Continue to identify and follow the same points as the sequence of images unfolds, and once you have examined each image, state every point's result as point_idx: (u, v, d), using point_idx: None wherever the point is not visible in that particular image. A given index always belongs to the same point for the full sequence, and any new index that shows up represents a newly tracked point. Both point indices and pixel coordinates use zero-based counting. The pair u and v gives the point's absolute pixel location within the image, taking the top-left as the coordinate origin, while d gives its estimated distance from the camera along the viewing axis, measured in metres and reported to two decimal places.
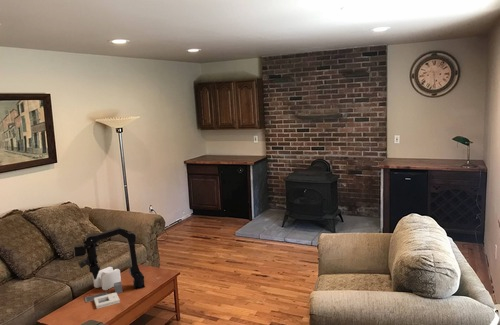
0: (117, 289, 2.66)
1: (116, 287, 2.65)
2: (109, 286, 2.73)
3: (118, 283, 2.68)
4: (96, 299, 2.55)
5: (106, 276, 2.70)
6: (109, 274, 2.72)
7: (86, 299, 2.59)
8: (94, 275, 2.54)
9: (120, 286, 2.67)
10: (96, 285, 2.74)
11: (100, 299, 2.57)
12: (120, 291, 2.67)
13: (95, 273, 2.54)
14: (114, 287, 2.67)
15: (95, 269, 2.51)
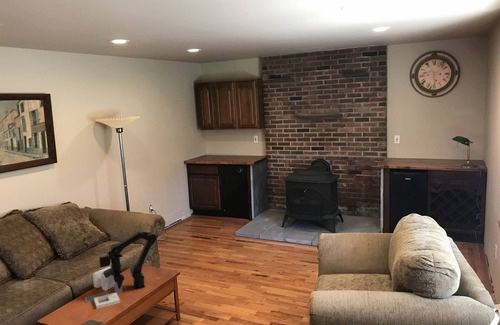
0: (117, 289, 2.66)
1: (116, 287, 2.65)
2: (109, 286, 2.73)
3: None
4: (96, 299, 2.55)
5: None
6: None
7: (86, 299, 2.59)
8: (118, 285, 2.63)
9: None
10: (96, 285, 2.74)
11: (100, 299, 2.57)
12: (120, 291, 2.67)
13: (119, 283, 2.63)
14: (114, 287, 2.67)
15: (120, 279, 2.59)
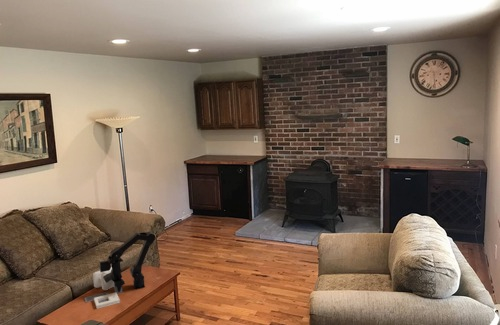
0: None
1: (116, 287, 2.65)
2: (109, 286, 2.73)
3: None
4: (96, 299, 2.55)
5: None
6: None
7: (86, 299, 2.59)
8: (118, 288, 2.65)
9: None
10: (96, 285, 2.74)
11: (100, 299, 2.57)
12: (120, 291, 2.67)
13: (119, 286, 2.65)
14: (114, 287, 2.67)
15: (120, 284, 2.59)
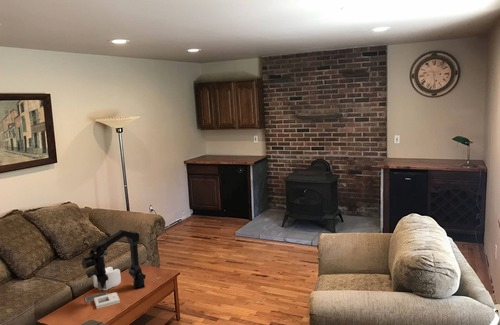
0: (100, 285, 2.51)
1: (99, 283, 2.50)
2: (109, 286, 2.73)
3: None
4: (96, 299, 2.55)
5: None
6: (109, 274, 2.72)
7: (86, 299, 2.59)
8: (101, 284, 2.50)
9: None
10: (96, 285, 2.74)
11: (100, 299, 2.57)
12: (104, 287, 2.52)
13: (103, 282, 2.50)
14: None
15: (103, 279, 2.44)
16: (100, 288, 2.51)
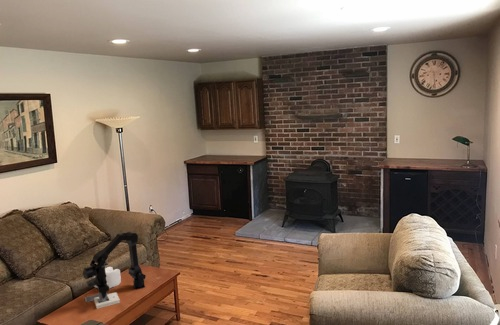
0: (101, 295, 2.52)
1: (100, 293, 2.51)
2: (109, 286, 2.73)
3: None
4: (96, 299, 2.55)
5: (106, 276, 2.70)
6: (109, 274, 2.72)
7: (86, 299, 2.59)
8: (103, 294, 2.51)
9: None
10: None
11: None
12: (105, 297, 2.53)
13: (104, 292, 2.51)
14: None
15: (104, 290, 2.45)
16: (101, 298, 2.52)
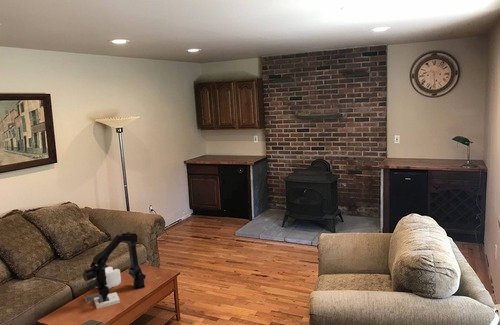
0: (102, 299, 2.52)
1: (101, 297, 2.52)
2: (109, 286, 2.73)
3: None
4: (96, 299, 2.55)
5: (106, 276, 2.70)
6: (109, 274, 2.72)
7: (86, 299, 2.59)
8: (103, 297, 2.49)
9: None
10: None
11: None
12: (105, 301, 2.53)
13: (104, 295, 2.49)
14: (99, 297, 2.53)
15: (104, 291, 2.45)
16: (101, 302, 2.52)
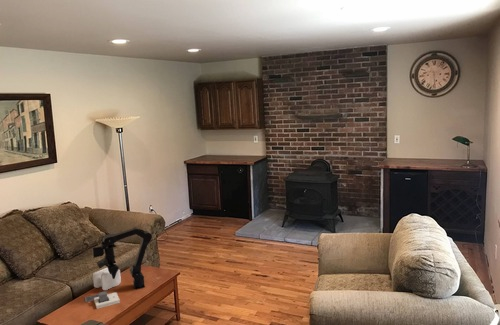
0: (102, 299, 2.52)
1: (101, 297, 2.52)
2: (109, 286, 2.73)
3: (103, 293, 2.54)
4: (96, 299, 2.55)
5: (106, 276, 2.70)
6: (109, 274, 2.72)
7: (86, 299, 2.59)
8: (113, 275, 2.60)
9: (105, 296, 2.53)
10: (96, 285, 2.74)
11: None
12: (105, 301, 2.53)
13: (114, 273, 2.60)
14: (99, 297, 2.53)
15: (114, 269, 2.57)
16: (101, 302, 2.52)
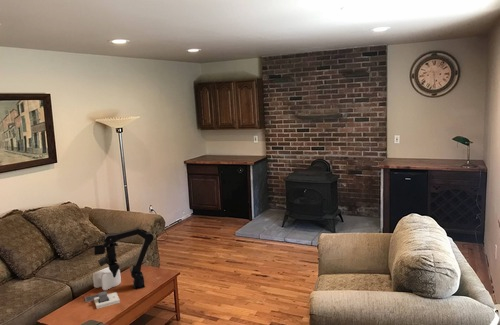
0: (102, 299, 2.52)
1: (101, 297, 2.52)
2: (109, 286, 2.73)
3: (103, 293, 2.54)
4: (96, 299, 2.55)
5: (106, 276, 2.70)
6: (109, 274, 2.72)
7: (86, 299, 2.59)
8: (113, 273, 2.62)
9: (105, 296, 2.53)
10: (96, 285, 2.74)
11: None
12: (105, 301, 2.53)
13: (114, 271, 2.62)
14: (99, 297, 2.53)
15: (115, 267, 2.58)
16: (101, 302, 2.52)
